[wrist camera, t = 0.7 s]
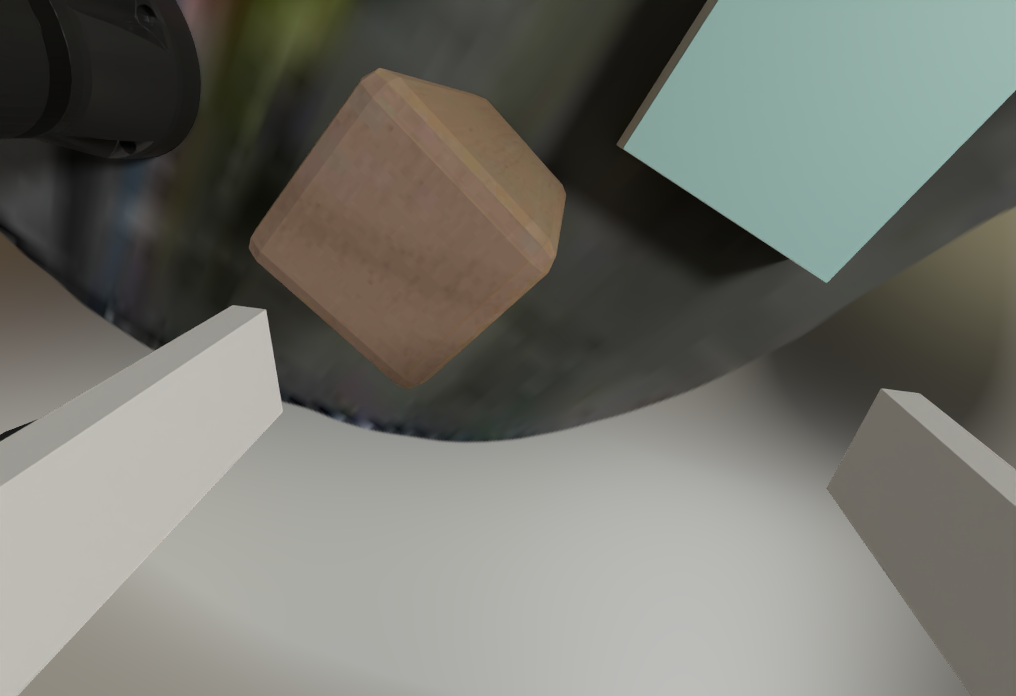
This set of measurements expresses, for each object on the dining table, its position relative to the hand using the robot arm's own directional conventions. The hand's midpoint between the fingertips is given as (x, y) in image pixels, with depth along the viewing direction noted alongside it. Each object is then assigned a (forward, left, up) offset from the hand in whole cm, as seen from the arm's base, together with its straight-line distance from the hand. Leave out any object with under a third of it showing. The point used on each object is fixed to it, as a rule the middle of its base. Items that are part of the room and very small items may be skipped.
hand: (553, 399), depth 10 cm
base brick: (+9, +13, -29) cm, 33 cm away
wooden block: (-6, -3, -29) cm, 30 cm away
